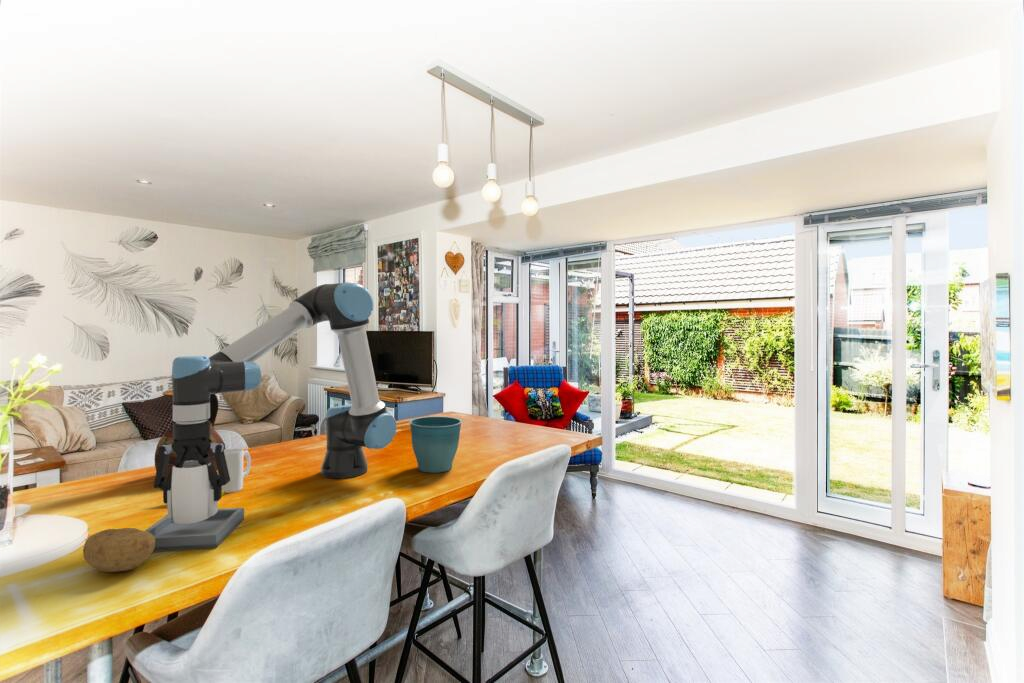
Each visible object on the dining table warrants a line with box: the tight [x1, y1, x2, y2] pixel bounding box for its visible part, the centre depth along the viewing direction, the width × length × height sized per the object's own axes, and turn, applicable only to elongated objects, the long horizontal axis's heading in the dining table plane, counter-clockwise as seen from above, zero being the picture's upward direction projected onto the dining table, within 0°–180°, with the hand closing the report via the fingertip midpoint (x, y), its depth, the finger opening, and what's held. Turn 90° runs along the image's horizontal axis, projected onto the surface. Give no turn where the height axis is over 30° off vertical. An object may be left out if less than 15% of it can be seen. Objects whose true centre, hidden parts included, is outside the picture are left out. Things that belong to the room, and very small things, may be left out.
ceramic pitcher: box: [154, 389, 227, 481], centre depth 164 cm, size 20×20×30 cm
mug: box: [222, 447, 252, 494], centre depth 152 cm, size 10×7×12 cm, turn 155°
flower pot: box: [409, 416, 462, 474], centre depth 175 cm, size 18×18×17 cm
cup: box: [171, 460, 213, 524], centre depth 118 cm, size 8×8×14 cm
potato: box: [82, 527, 155, 573], centre depth 102 cm, size 10×14×8 cm
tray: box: [144, 507, 245, 553], centre depth 119 cm, size 17×17×3 cm
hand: (193, 514), depth 119 cm, fingers closed on cup, 8 cm apart
